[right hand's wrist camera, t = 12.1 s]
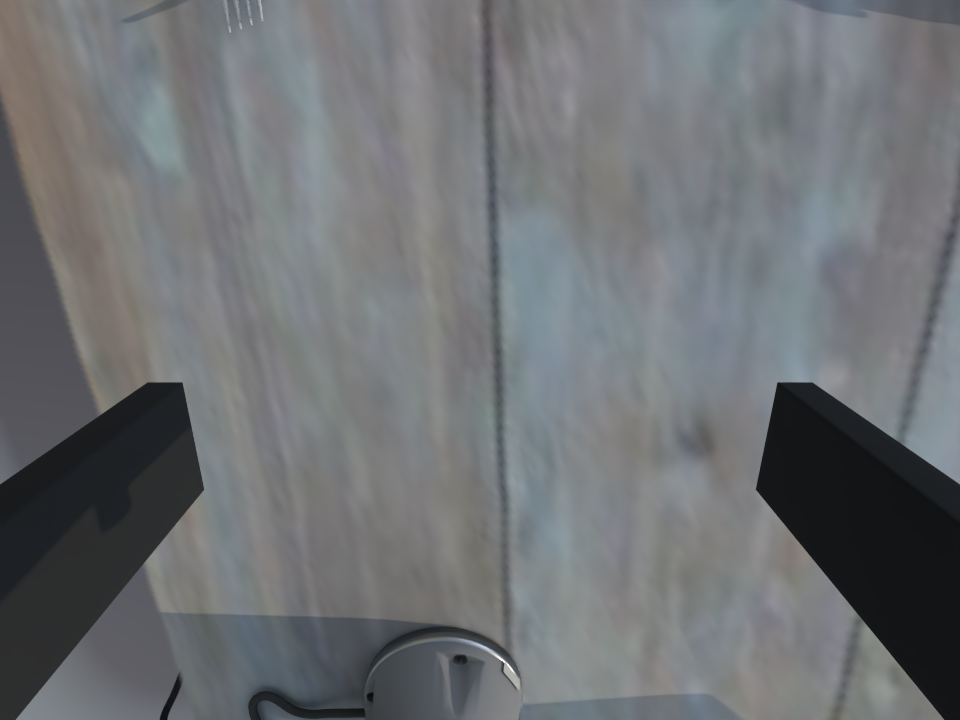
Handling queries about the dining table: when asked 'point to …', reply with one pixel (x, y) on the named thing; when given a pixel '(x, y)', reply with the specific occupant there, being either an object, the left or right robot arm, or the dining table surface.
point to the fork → (236, 4)
